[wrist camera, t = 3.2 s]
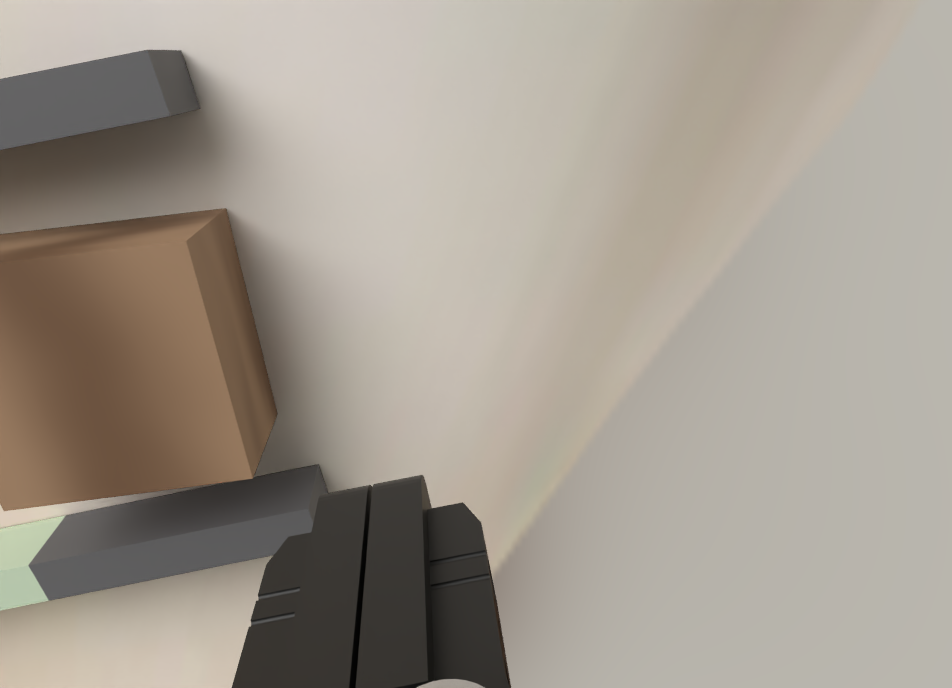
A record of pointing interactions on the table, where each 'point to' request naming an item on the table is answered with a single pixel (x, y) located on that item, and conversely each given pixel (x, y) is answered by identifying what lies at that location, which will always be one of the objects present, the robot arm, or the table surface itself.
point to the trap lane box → (161, 518)
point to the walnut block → (127, 361)
